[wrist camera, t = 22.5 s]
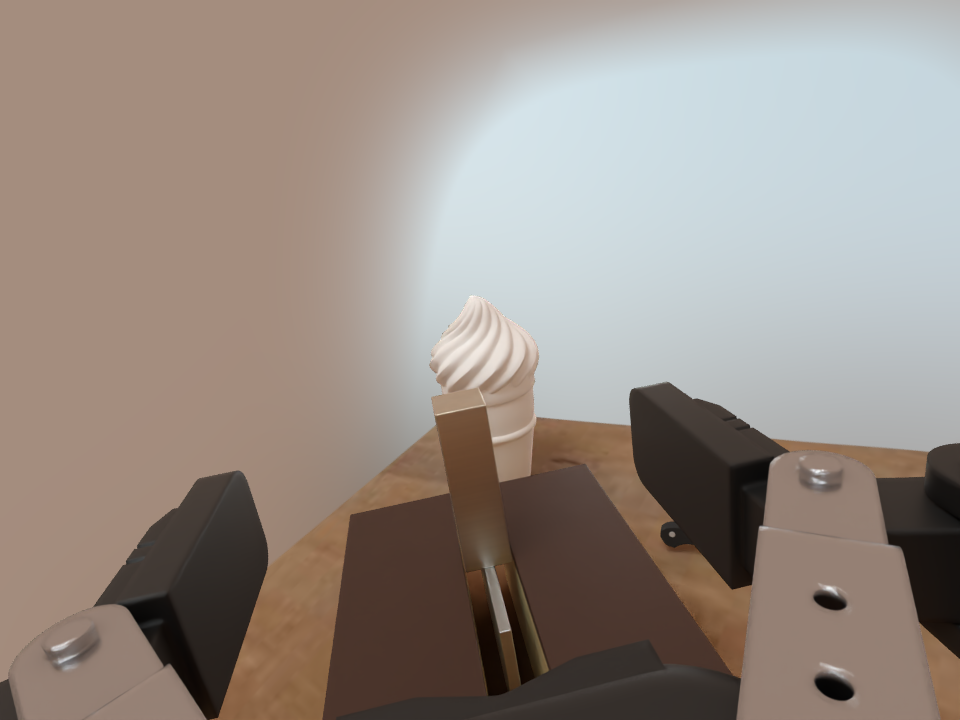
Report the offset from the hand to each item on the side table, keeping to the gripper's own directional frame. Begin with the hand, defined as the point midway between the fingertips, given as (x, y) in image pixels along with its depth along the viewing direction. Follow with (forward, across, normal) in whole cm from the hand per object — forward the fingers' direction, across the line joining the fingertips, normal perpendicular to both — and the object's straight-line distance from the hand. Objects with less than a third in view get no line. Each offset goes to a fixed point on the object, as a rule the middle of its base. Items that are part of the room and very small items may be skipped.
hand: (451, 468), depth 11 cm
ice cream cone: (+30, +4, -19) cm, 35 cm away
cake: (+10, +1, -18) cm, 21 cm away
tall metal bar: (+12, +1, -18) cm, 22 cm away
